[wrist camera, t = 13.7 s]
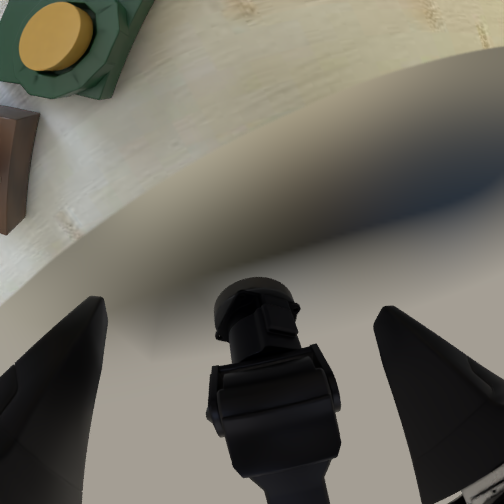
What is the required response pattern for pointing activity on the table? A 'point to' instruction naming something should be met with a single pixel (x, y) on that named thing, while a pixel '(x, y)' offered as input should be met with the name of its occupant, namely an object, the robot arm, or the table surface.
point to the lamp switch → (55, 37)
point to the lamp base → (91, 62)
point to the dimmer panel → (15, 163)
